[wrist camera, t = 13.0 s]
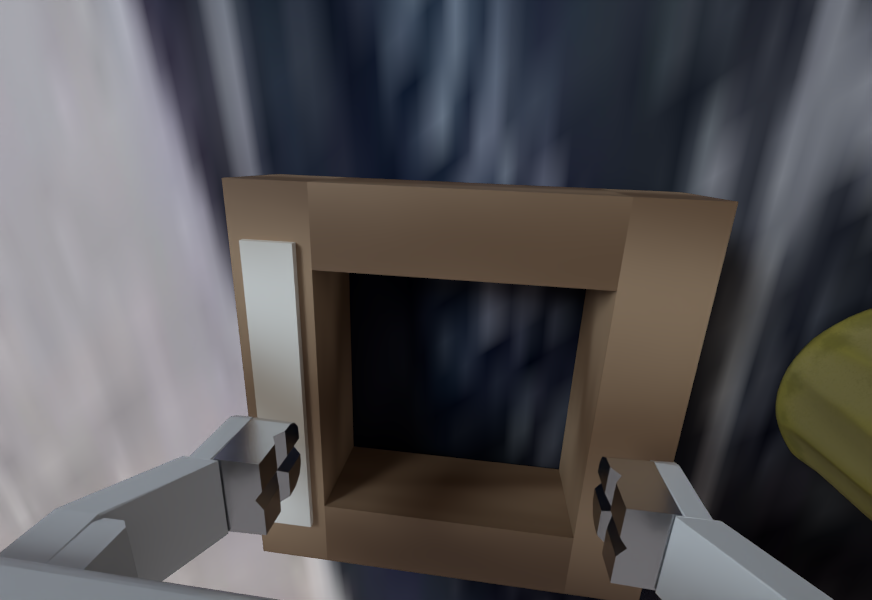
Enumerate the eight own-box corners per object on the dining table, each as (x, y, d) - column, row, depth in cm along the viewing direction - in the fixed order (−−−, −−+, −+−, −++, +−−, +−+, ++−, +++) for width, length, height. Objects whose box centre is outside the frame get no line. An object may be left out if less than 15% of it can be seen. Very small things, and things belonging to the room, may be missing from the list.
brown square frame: (278, 174, 14) (217, 178, 11) (681, 192, 12) (743, 202, 9) (301, 486, 17) (260, 556, 14) (612, 525, 16) (640, 610, 13)
